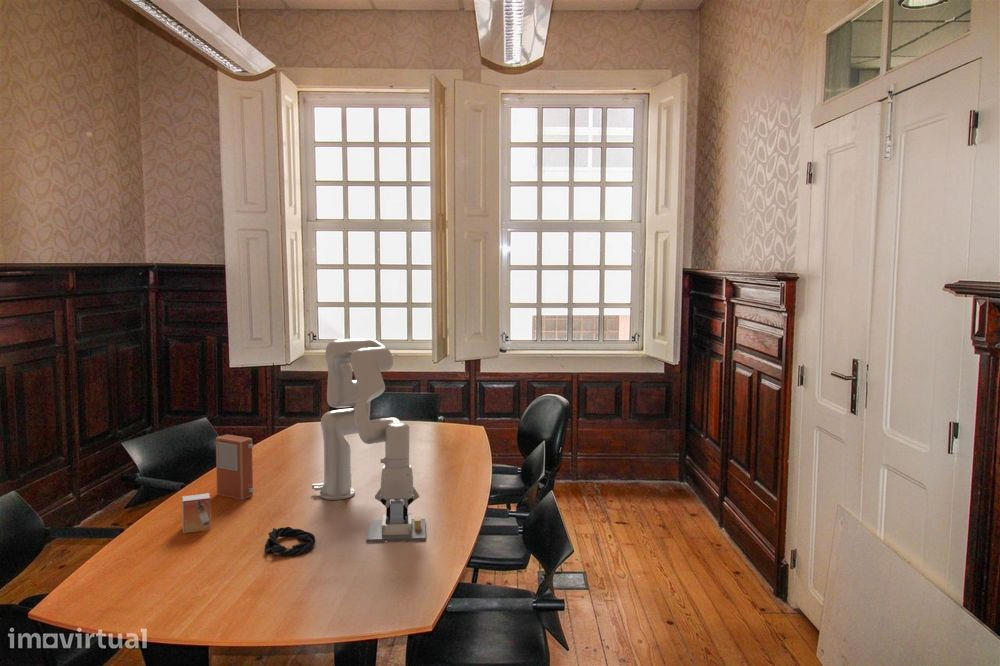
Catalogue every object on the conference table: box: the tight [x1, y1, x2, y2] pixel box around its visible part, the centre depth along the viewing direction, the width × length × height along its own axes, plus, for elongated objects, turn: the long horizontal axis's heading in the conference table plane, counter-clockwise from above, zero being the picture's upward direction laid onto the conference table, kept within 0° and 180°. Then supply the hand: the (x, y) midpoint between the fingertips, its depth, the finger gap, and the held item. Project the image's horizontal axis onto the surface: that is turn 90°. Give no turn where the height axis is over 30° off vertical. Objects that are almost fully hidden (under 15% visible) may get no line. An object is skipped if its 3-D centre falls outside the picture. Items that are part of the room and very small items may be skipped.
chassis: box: [365, 512, 427, 543], centre depth 209 cm, size 18×16×4 cm
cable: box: [264, 526, 316, 558], centre depth 197 cm, size 17×14×4 cm
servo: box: [390, 499, 404, 524], centre depth 209 cm, size 4×10×7 cm, turn 7°
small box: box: [181, 492, 212, 534], centre depth 208 cm, size 8×6×10 cm
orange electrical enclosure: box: [215, 434, 255, 500], centre depth 240 cm, size 21×7×15 cm
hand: (397, 517), depth 209 cm, fingers closed on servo, 3 cm apart
